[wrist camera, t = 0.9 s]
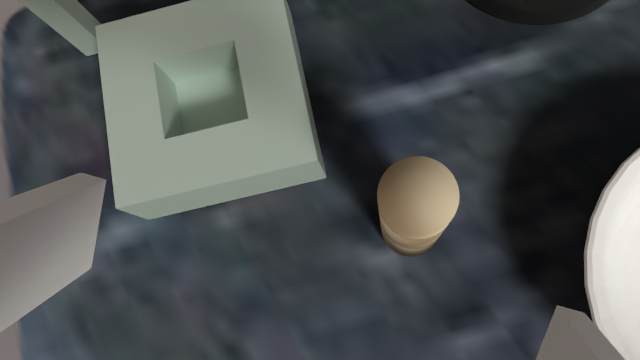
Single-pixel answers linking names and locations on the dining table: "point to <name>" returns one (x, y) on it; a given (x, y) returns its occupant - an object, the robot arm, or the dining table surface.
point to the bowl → (616, 260)
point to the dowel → (416, 204)
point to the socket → (198, 101)
